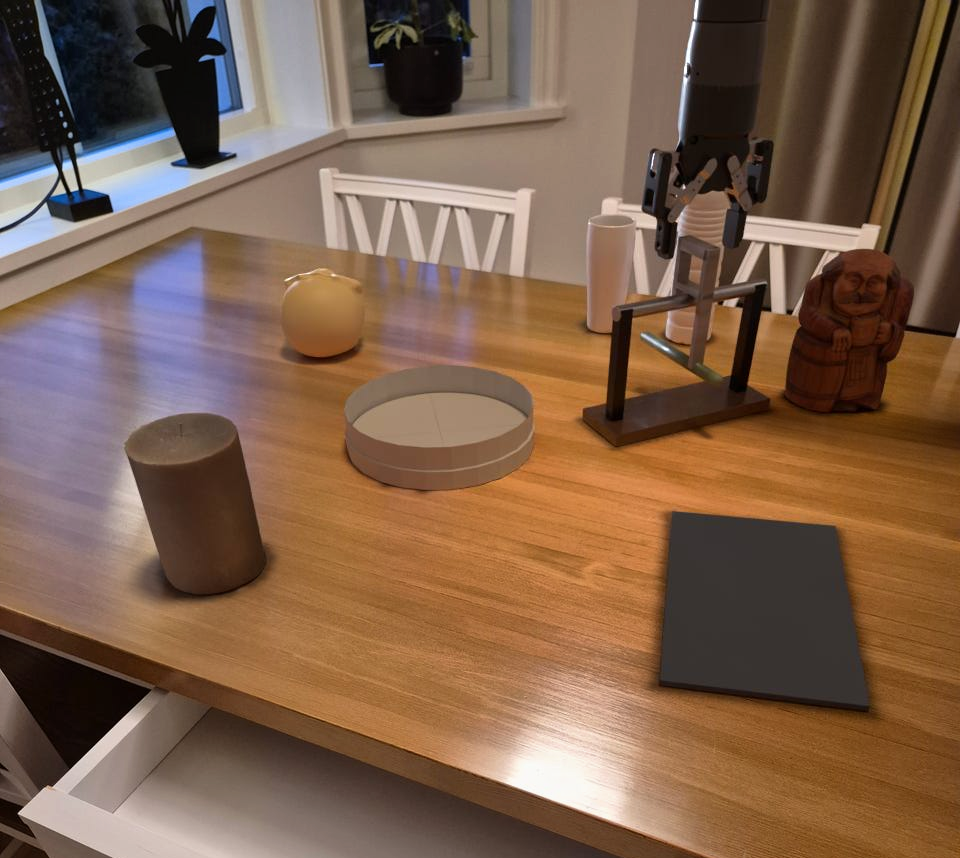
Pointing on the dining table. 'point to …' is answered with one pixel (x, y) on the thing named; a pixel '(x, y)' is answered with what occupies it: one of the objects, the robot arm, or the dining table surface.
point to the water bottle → (708, 225)
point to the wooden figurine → (848, 332)
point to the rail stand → (684, 403)
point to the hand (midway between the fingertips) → (698, 252)
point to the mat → (760, 612)
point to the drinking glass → (608, 267)
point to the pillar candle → (197, 501)
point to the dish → (439, 427)
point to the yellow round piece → (322, 313)
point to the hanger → (703, 308)
